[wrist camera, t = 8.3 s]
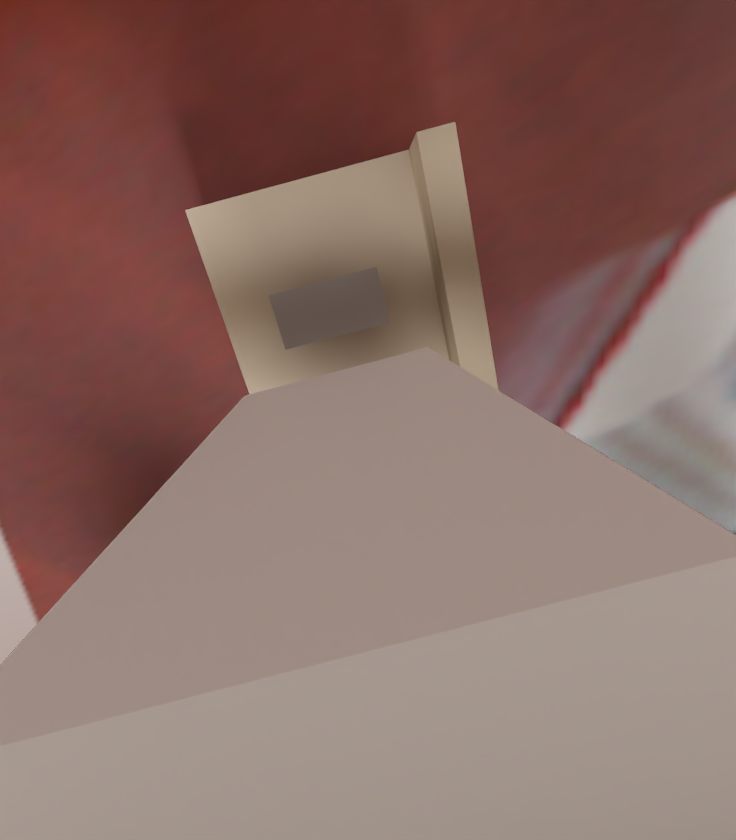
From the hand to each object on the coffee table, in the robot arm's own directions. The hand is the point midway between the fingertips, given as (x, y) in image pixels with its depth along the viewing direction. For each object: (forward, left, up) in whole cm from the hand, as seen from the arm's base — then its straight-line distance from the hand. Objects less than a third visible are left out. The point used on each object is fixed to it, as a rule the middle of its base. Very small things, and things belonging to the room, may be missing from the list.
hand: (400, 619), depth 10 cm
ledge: (0, -1, -10) cm, 10 cm away
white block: (0, 0, -2) cm, 2 cm away
